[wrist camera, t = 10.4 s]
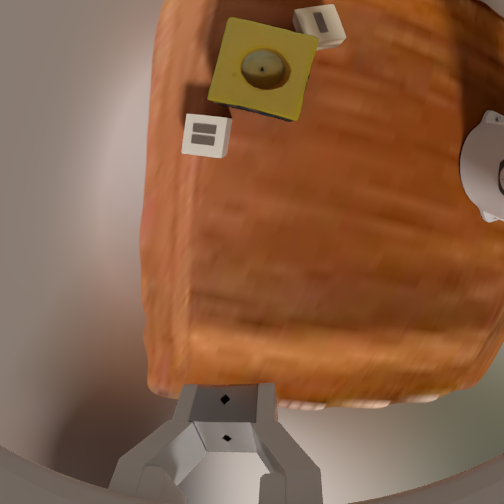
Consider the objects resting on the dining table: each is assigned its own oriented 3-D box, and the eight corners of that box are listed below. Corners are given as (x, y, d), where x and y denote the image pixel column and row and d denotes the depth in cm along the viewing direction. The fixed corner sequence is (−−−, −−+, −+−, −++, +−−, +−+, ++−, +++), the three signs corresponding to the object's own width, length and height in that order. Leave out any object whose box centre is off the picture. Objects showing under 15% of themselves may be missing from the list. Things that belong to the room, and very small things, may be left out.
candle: (236, 38, 34) (226, 13, 25) (310, 55, 34) (322, 35, 25) (217, 105, 38) (201, 99, 29) (291, 123, 38) (298, 121, 29)
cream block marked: (232, 118, 38) (227, 117, 34) (227, 154, 40) (221, 158, 36) (196, 114, 38) (186, 113, 34) (191, 150, 40) (181, 153, 36)
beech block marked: (326, 16, 32) (333, 3, 27) (338, 46, 33) (346, 37, 29) (292, 22, 32) (294, 9, 28) (303, 52, 34) (307, 43, 29)
